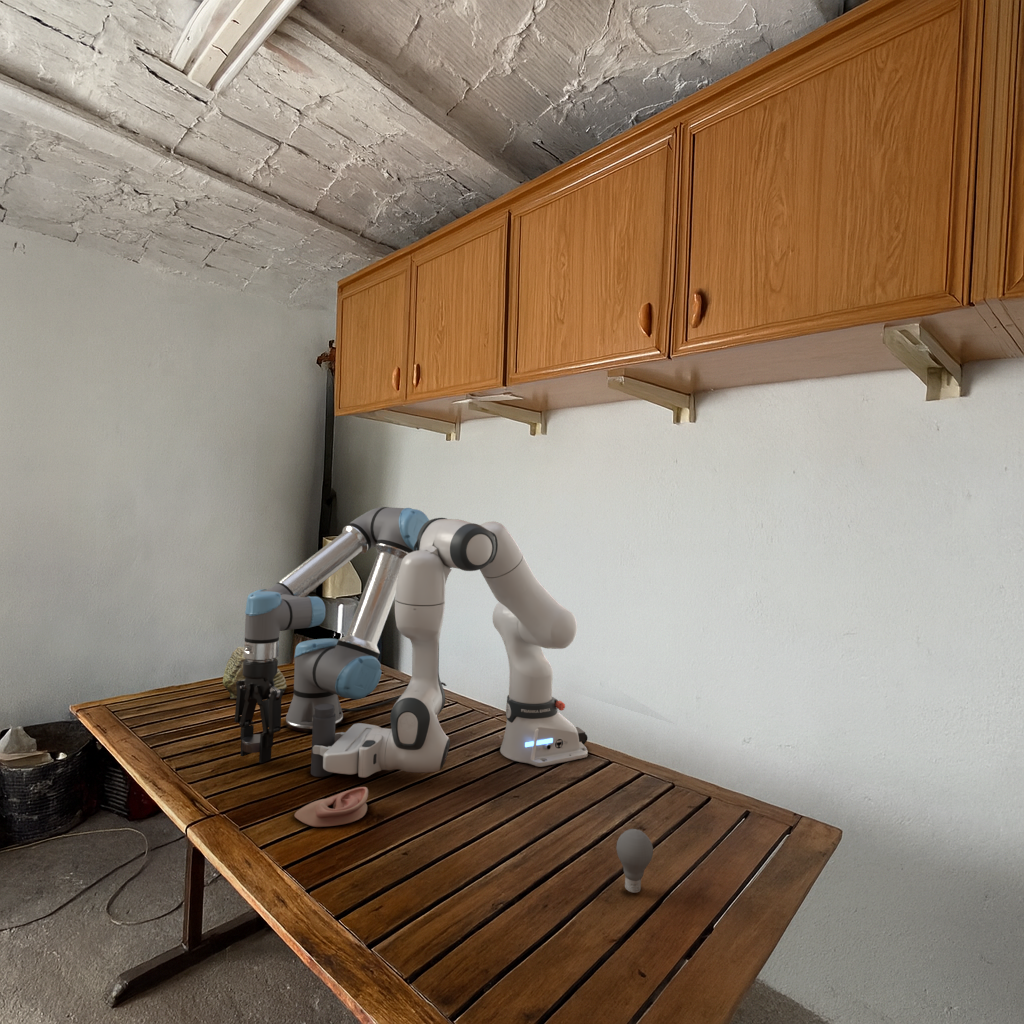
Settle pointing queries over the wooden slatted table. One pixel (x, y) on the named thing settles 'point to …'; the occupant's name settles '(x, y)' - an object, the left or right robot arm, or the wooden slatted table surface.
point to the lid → (251, 743)
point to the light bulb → (634, 857)
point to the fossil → (236, 673)
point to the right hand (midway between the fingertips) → (319, 743)
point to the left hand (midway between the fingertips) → (255, 757)
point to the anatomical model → (335, 809)
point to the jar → (322, 735)
